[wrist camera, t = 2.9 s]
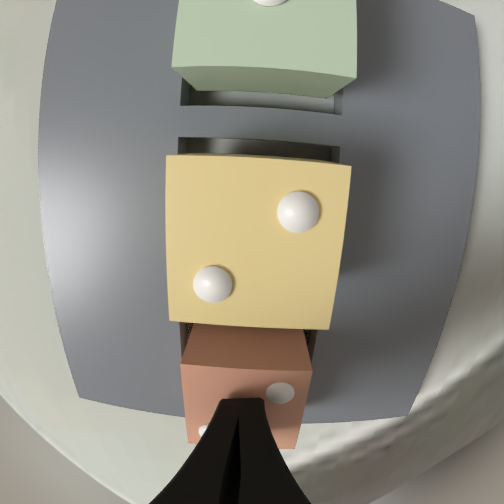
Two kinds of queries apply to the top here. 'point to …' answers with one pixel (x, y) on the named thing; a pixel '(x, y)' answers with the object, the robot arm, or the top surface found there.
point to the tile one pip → (267, 45)
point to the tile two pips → (254, 239)
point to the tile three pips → (246, 375)
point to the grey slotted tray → (267, 129)
